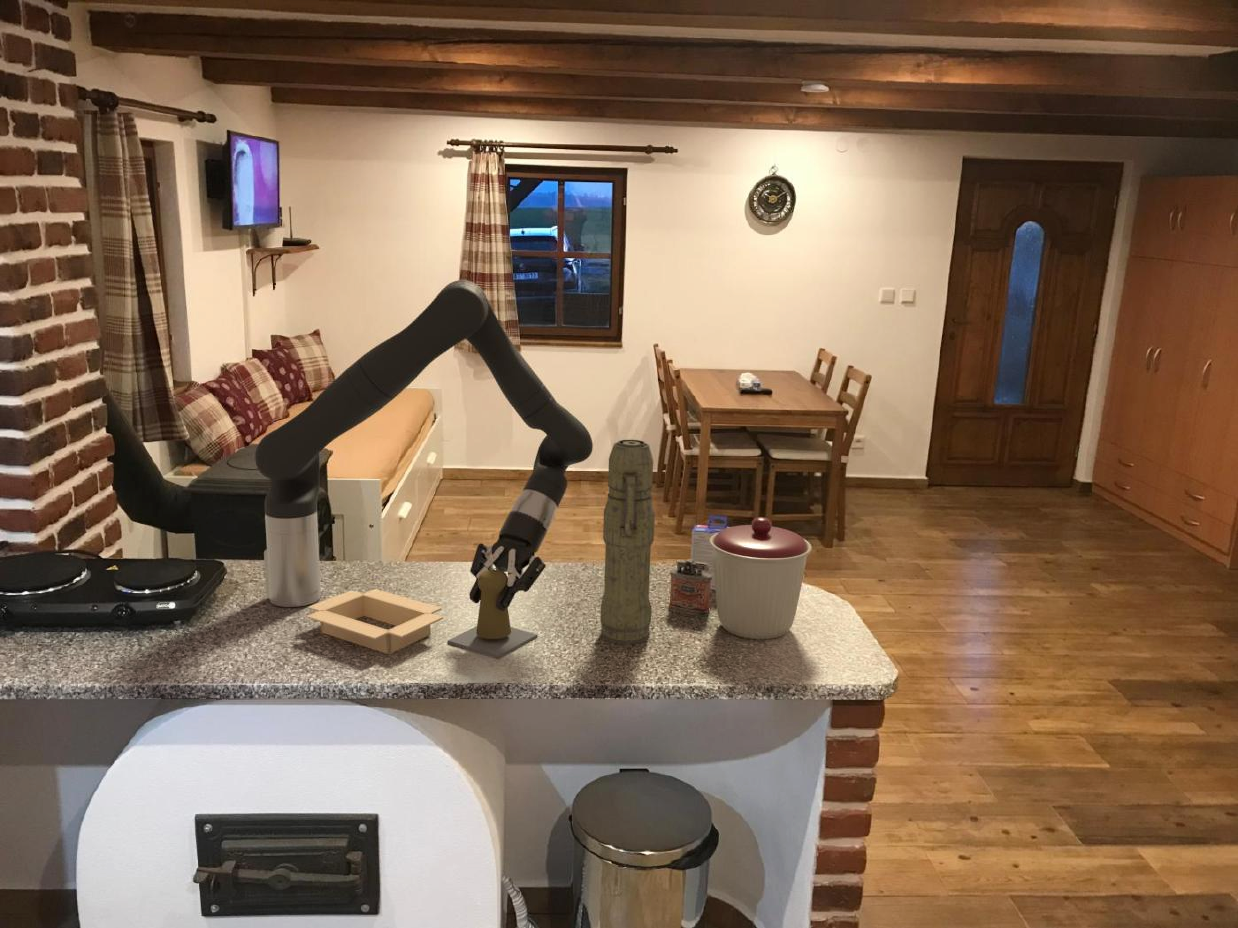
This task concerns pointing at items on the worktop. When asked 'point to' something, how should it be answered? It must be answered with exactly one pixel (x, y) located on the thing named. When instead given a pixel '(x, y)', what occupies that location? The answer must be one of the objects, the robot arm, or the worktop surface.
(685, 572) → the lighter
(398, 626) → the carton
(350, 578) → the worktop surface
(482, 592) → the cork
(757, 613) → the canister
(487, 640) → the mat
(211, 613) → the worktop surface
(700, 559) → the ink cartridge box
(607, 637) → the thermos
